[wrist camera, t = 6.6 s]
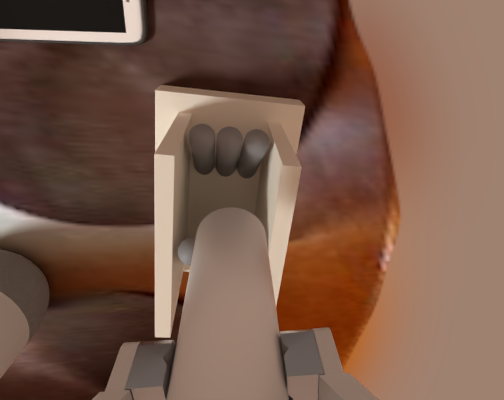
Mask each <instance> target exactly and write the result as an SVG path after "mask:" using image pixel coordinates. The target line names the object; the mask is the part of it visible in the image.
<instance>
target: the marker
mask: <svg viewBox="0 0 504 400" xmlns="http://www.w3.org/2000/svg"><path fill="white" fill-rule="evenodd" d="M166 400H289V397H288V392H287V386H286V379H285V372H284V361H283V357H282V350H281V343H280V333H279V326H278V319H277V312H276V304H275V297H274V290H273V283H272V276H271V269H270V262H269V255H268V248H267V240H266V233H265V229H264V227H263V224H262V223H261V221H260V220H259V219H258V218H257V217H256V216H255V215H253V214H252V213H250V212H248V211H246V210H244V209H240V208H222V209H218V210H216V211H214V212H212V213H210V214H209V215H207V216H206V217H205V218H204V219H203V220H202V221H201V223H200V225H199V227H198V229H197V233H196V239H195V244H194V250H193V255H192V261H191V266H190V272H189V277H188V283H187V288H186V294H185V299H184V305H183V310H182V316H181V321H180V327H179V332H178V338H177V343H176V349H175V354H174V360H173V365H172V371H171V376H170V382H169V387H168V393H167V398H166Z"/></svg>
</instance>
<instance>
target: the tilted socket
mask: <svg viewBox="0 0 504 400" xmlns="http://www.w3.org/2000/svg"><path fill="white" fill-rule="evenodd" d="M304 110H305V105H304V104H303V103H302V102H301V101H300V100H297V99H287V98H278V97H269V96H260V95H250V94H241V93H232V92H223V91H213V90H204V89H195V88H186V87H176V86H167V85H161V86H159V87H158V88H157V89H156V90H155V154H154V181H155V337H165V338H170V337H171V332H172V327H173V321H174V316H175V311H176V306H177V301H178V295H179V290H180V285H181V280H182V275H183V271H187V272H190V266H191V261H192V255H193V250H194V244H195V239H196V233H197V229H198V227H199V225H200V223H201V221H202V220H203V219H204V218H205V217H206V216H207V215H209V214H210V213H212V212H214V211H216V210H218V209H222V208H240V209H244V210H246V211H248V212H250V213H252V214H253V215H255V216H256V217H257V218H258V219H259V220H260V221H261V223H262V224H263V227H264V229H265V233H266V240H267V248H268V255H269V262H270V269H271V276H272V283H273V290H274V297H275V304H276V305H277V300H278V294H279V289H280V283H281V278H282V272H283V267H284V262H285V256H286V251H287V245H288V240H289V235H290V229H291V224H292V218H293V213H294V207H295V202H296V197H297V191H298V186H299V180H300V175H301V170H302V166H301V164H300V162H299V160H298V158H297V150H298V144H299V139H300V133H301V127H302V122H303V116H304Z"/></svg>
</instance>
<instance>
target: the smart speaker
mask: <svg viewBox="0 0 504 400" xmlns="http://www.w3.org/2000/svg"><path fill="white" fill-rule="evenodd" d="M49 296H50V293H49V286H48V282H47V280H46V278H45V276H44V274H43V273H42V271H41V270H40V269H39V268H38V267H37V266H36V265H35V264H34V263H33V262H31V261H30V260H28V259H27V258H25V257H23V256H21V255H19V254H16V253H13V252H10V251H6V250H0V378H1V377H2V376H3V374H4V373H5V372H6V371H7V369H8V368H9V367H10V366H11V364H12V363H13V362H14V360H15V359H16V358H17V357H18V355H19V354H20V353H21V351H22V350H23V349H24V348H25V346H26V345H27V343H28V342H29V341H30V339H31V338H32V336H33V335H34V334H35V332H36V331H37V329H38V327H39V326H40V324H41V322H42V320H43V318H44V316H45V314H46V311H47V308H48V304H49Z"/></svg>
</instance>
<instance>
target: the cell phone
mask: <svg viewBox="0 0 504 400" xmlns="http://www.w3.org/2000/svg"><path fill="white" fill-rule="evenodd" d="M147 37H148V18H147V6H146V0H0V41H15V42H44V43H75V44H107V45H137V44H142V43H144V42H145V41H146V40H147ZM10 39H11V40H10ZM39 40H42V41H39ZM69 41H72V42H69Z"/></svg>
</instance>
